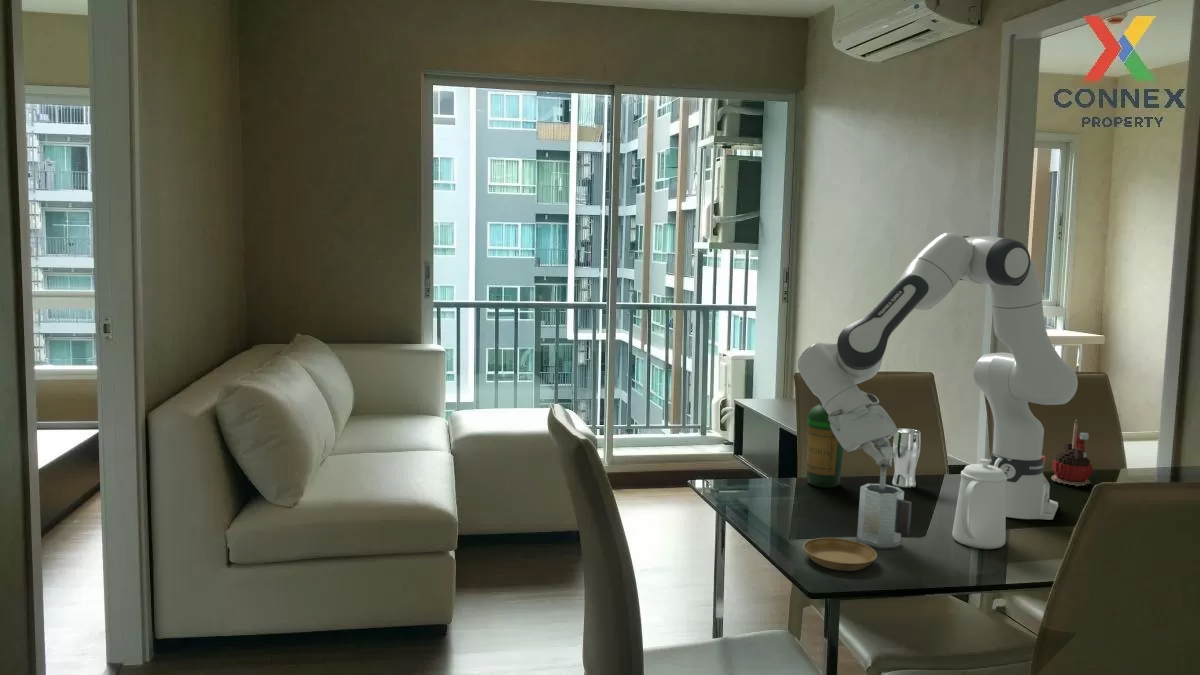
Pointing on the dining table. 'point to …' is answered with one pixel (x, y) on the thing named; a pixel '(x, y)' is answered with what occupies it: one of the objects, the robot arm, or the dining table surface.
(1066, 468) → the cake
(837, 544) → the plant saucer
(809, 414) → the bottle
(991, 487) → the coffeepot
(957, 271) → the robot arm
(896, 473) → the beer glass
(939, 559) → the dining table surface
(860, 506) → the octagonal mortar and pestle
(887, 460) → the dumbbell
